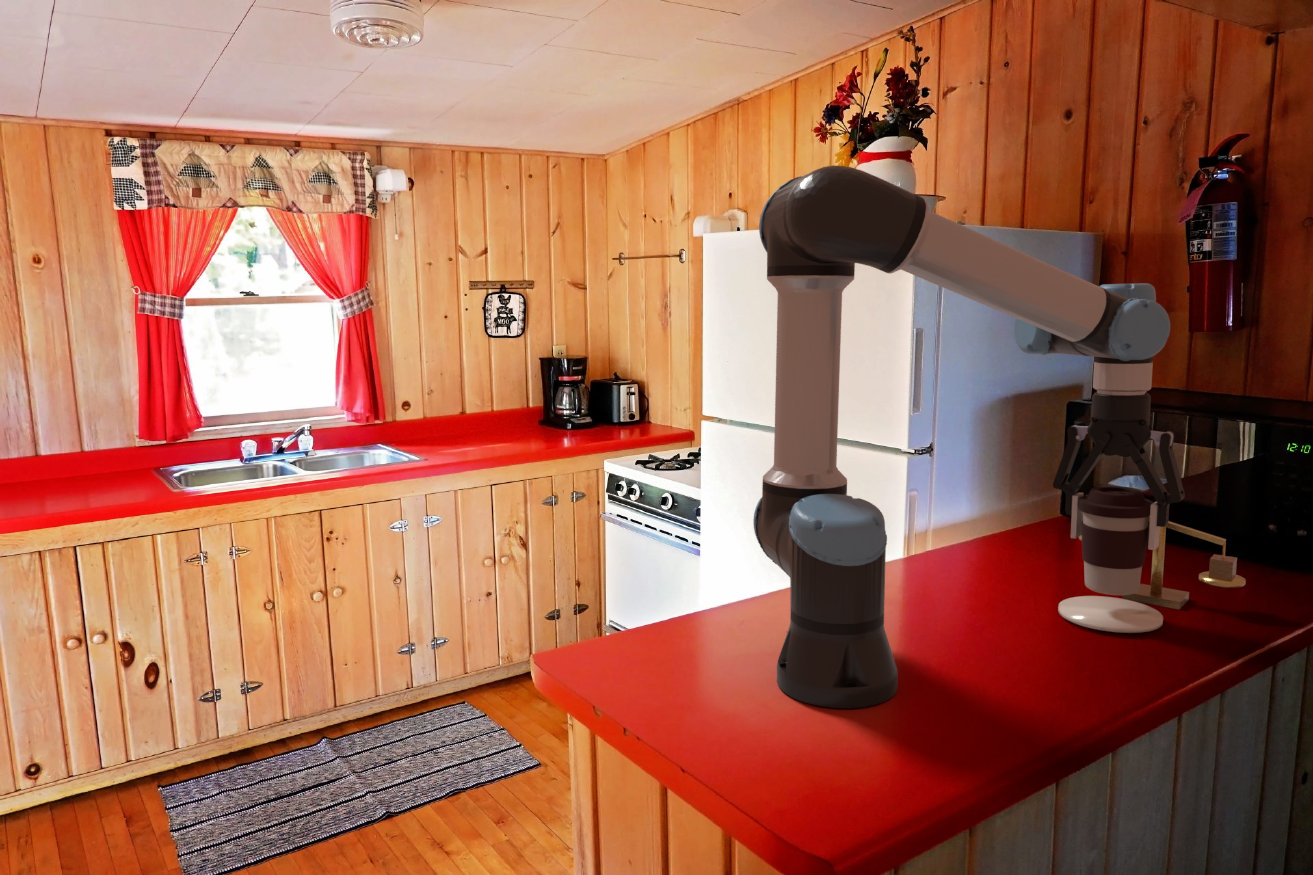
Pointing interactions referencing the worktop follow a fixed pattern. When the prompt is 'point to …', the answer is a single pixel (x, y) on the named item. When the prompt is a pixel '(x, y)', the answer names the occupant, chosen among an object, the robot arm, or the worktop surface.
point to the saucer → (1110, 614)
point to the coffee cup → (1114, 538)
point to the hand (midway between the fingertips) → (1113, 541)
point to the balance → (1218, 575)
